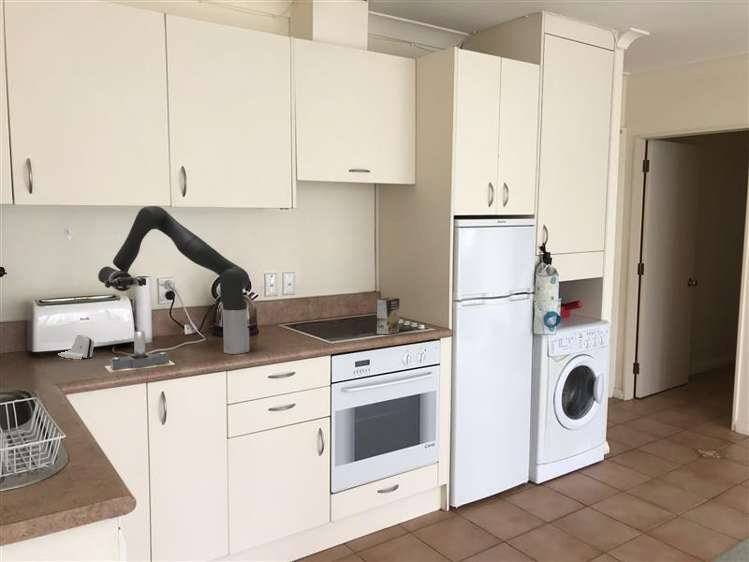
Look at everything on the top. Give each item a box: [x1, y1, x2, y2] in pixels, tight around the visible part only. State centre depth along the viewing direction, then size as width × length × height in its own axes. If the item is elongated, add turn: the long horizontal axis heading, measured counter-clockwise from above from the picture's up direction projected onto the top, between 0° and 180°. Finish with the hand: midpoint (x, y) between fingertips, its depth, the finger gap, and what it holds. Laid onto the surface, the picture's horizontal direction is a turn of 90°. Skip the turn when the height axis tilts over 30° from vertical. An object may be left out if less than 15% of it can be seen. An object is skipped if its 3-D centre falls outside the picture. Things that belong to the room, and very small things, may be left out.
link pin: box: [133, 330, 146, 359], centre depth 227 cm, size 4×4×12 cm
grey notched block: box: [109, 351, 170, 370], centre depth 228 cm, size 19×7×4 cm, turn 123°
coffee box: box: [376, 297, 400, 335], centre depth 295 cm, size 9×6×16 cm
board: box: [104, 359, 176, 373], centre depth 228 cm, size 22×10×1 cm, turn 123°
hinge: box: [58, 334, 95, 361], centre depth 244 cm, size 17×5×10 cm, turn 64°
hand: (129, 284), depth 236 cm, fingers open, 8 cm apart
